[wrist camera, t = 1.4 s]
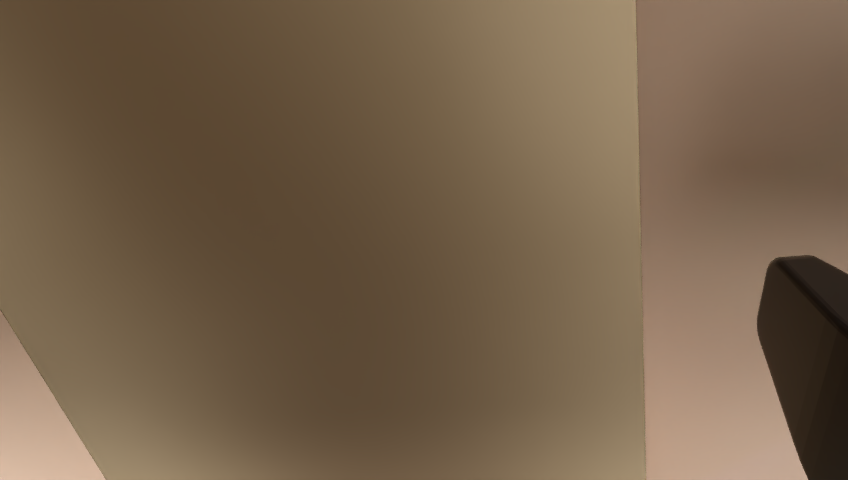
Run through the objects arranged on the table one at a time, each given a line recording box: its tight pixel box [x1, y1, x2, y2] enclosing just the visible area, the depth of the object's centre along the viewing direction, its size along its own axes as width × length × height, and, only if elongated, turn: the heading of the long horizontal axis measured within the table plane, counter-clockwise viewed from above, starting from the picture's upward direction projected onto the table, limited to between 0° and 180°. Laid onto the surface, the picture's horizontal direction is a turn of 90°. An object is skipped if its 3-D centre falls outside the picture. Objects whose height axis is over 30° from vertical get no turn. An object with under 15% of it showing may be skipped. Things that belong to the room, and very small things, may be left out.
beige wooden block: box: [0, 0, 646, 480], centre depth 10 cm, size 6×16×4 cm, turn 10°
